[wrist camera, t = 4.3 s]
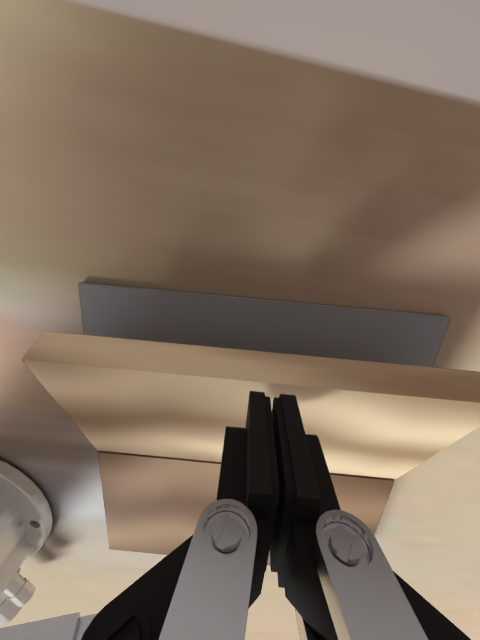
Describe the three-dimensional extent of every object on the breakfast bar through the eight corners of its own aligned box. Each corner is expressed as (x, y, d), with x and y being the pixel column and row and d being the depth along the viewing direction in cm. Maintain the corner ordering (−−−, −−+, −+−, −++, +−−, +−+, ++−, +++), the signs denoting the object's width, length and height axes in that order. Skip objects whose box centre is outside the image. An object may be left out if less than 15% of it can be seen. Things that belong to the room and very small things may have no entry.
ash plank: (388, 453, 19) (396, 478, 18) (107, 426, 19) (96, 450, 18) (488, 372, 12) (511, 405, 11) (43, 331, 12) (21, 359, 11)
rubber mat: (360, 553, 24) (361, 558, 23) (110, 528, 24) (107, 533, 24) (446, 315, 16) (450, 318, 16) (82, 282, 16) (78, 283, 16)
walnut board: (352, 550, 23) (359, 573, 22) (118, 528, 23) (109, 549, 22) (383, 461, 20) (394, 480, 18) (109, 435, 20) (98, 452, 18)
